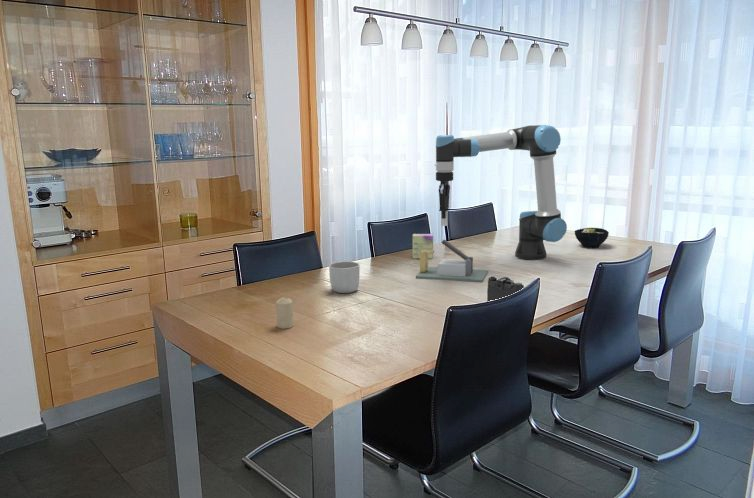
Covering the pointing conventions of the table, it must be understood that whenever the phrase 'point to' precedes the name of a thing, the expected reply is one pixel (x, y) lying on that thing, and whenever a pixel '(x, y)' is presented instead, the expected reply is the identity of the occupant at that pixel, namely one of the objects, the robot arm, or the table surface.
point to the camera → (501, 287)
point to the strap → (455, 250)
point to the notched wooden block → (424, 259)
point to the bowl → (591, 237)
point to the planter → (344, 276)
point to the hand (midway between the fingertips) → (444, 225)
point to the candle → (284, 313)
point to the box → (422, 244)
